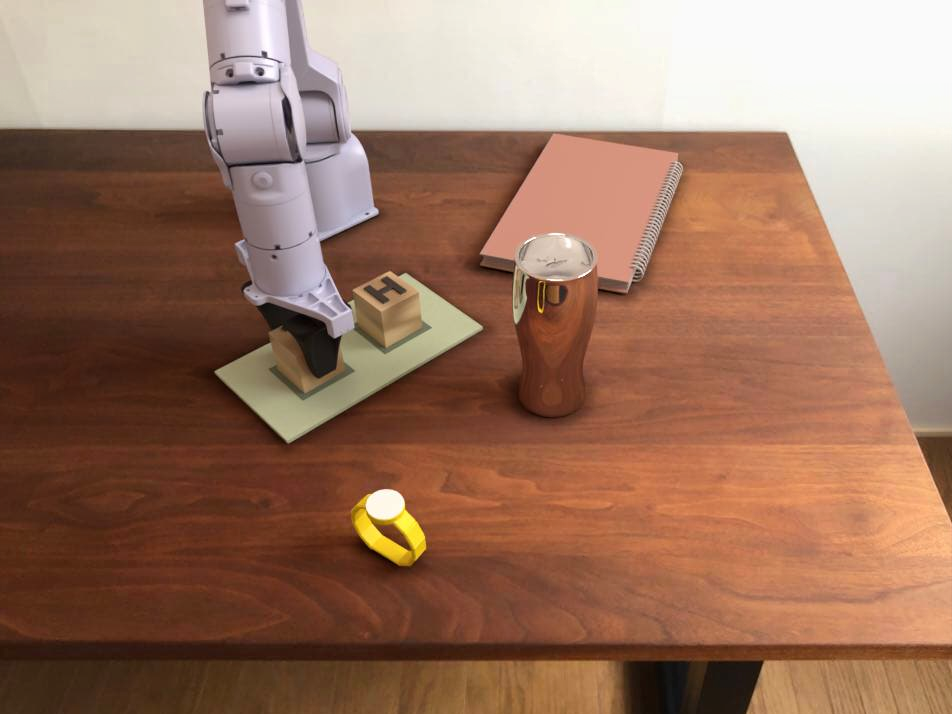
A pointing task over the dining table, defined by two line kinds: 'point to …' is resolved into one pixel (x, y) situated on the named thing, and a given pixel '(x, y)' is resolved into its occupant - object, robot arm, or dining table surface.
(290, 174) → the robot arm
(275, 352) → the block
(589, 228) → the notebook
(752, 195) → the dining table surface
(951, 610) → the dining table surface
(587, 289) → the beer glass
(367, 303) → the block
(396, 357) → the word mat
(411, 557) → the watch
